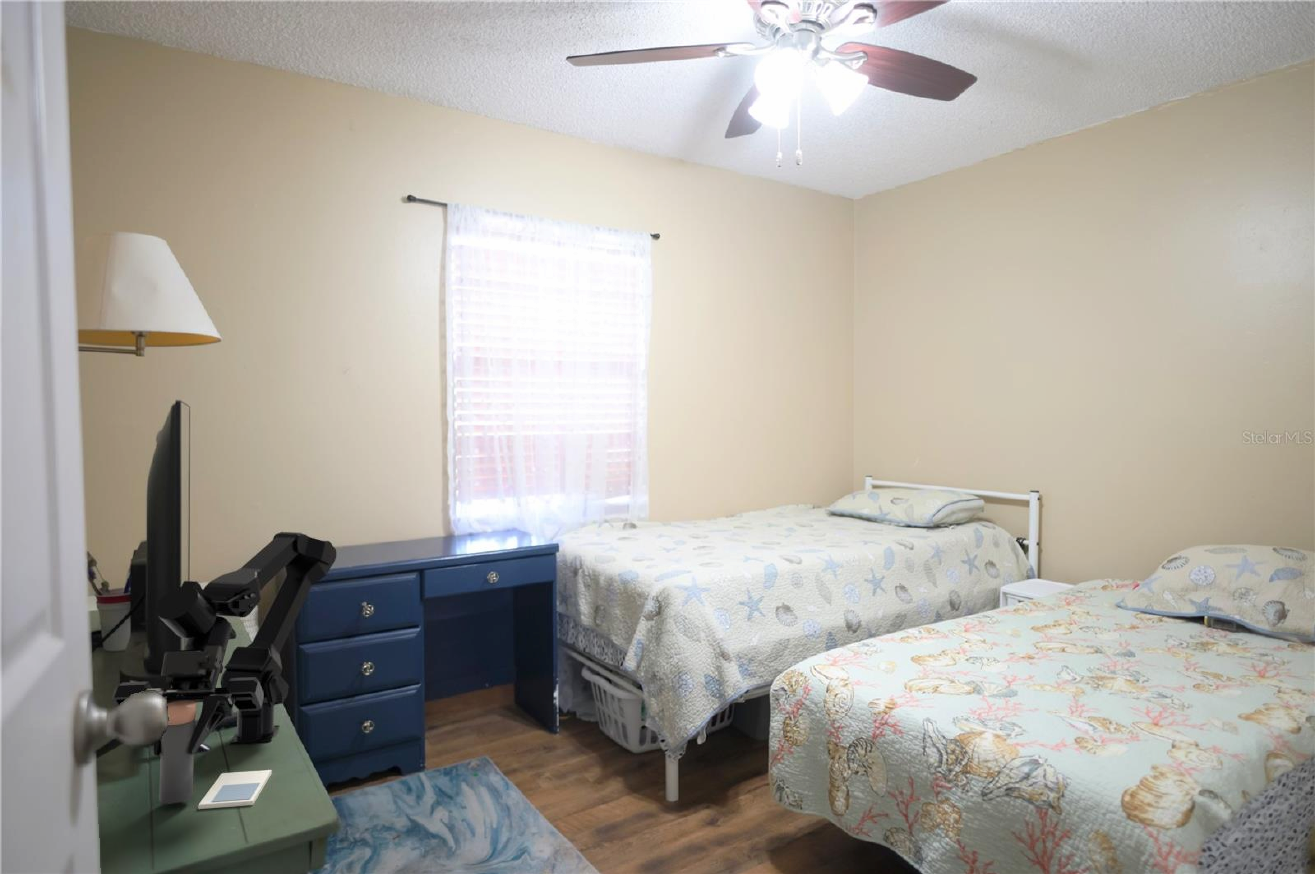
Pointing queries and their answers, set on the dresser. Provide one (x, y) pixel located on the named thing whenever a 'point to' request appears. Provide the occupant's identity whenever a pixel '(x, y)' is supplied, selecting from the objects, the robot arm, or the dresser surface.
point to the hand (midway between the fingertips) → (173, 754)
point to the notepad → (235, 789)
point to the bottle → (177, 753)
